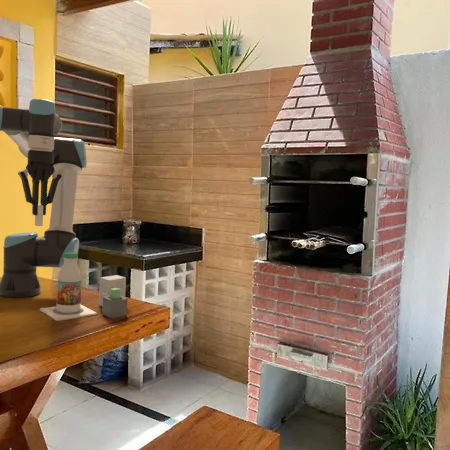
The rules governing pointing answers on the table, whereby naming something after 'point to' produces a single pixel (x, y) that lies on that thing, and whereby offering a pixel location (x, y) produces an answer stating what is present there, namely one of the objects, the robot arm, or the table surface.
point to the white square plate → (63, 316)
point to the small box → (111, 286)
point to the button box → (114, 307)
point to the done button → (115, 293)
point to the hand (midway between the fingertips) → (38, 225)
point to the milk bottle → (69, 285)
